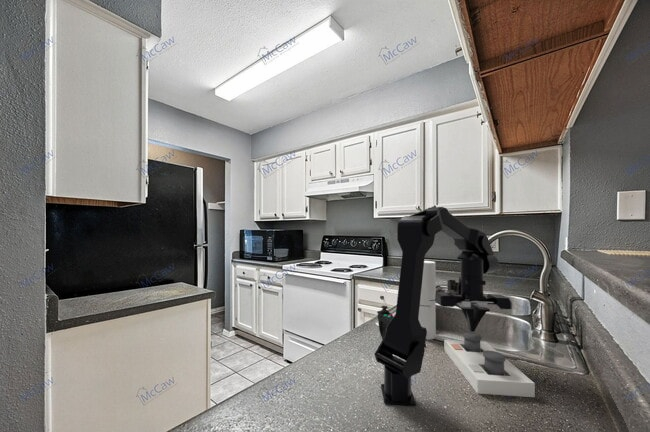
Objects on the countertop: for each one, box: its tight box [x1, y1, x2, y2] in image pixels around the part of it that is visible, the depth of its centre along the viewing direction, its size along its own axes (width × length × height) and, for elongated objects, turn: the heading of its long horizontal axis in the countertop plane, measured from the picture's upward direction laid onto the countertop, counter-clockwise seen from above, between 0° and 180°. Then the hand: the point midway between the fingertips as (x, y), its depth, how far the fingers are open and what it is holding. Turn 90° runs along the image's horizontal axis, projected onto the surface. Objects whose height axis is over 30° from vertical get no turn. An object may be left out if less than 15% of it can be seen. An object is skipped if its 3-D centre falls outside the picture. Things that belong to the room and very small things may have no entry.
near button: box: [483, 351, 507, 376], centre depth 67 cm, size 5×5×4 cm
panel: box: [443, 339, 536, 398], centre depth 73 cm, size 22×12×3 cm, turn 175°
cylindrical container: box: [418, 260, 437, 341], centre depth 96 cm, size 7×7×25 cm
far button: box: [462, 331, 482, 352], centre depth 79 cm, size 5×5×4 cm
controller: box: [376, 305, 394, 340], centre depth 91 cm, size 4×12×10 cm, turn 8°
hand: (471, 331), depth 79 cm, fingers closed
